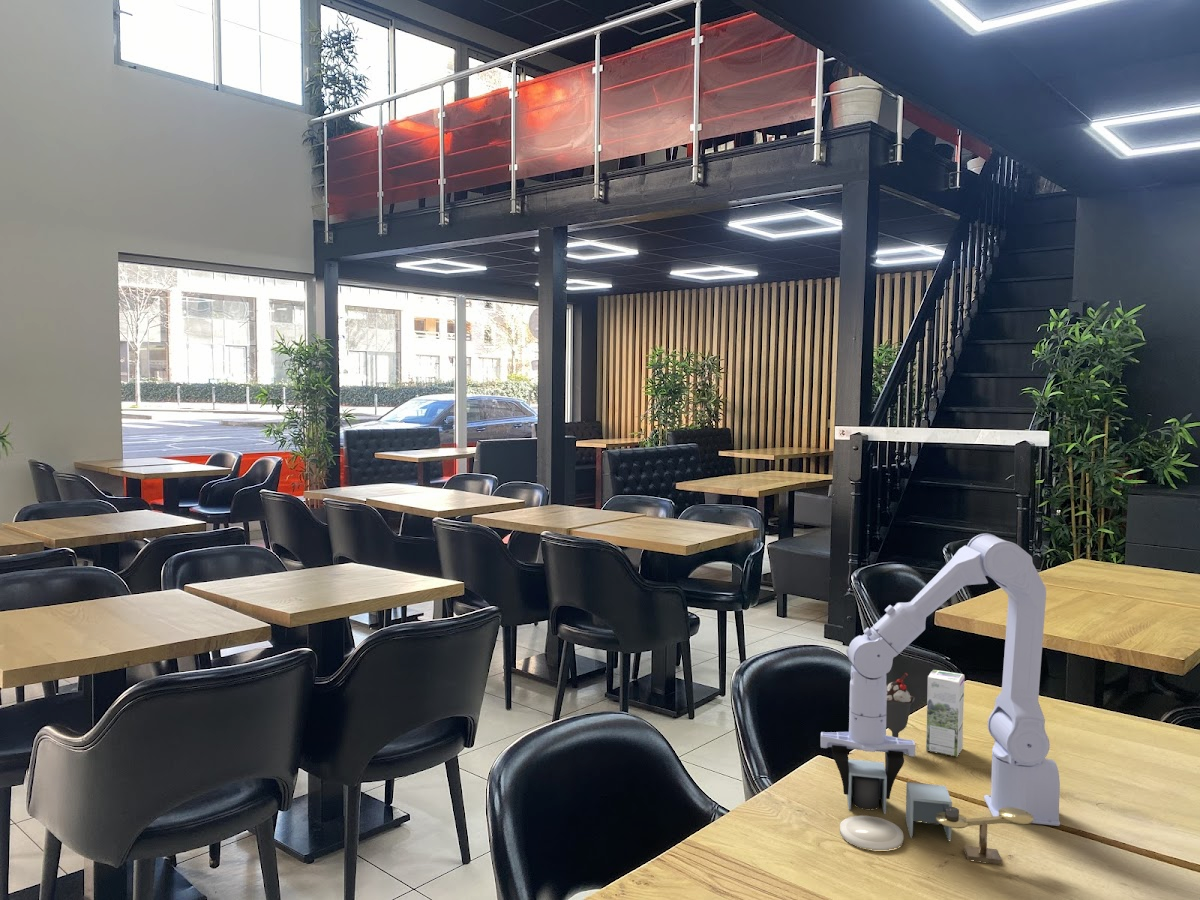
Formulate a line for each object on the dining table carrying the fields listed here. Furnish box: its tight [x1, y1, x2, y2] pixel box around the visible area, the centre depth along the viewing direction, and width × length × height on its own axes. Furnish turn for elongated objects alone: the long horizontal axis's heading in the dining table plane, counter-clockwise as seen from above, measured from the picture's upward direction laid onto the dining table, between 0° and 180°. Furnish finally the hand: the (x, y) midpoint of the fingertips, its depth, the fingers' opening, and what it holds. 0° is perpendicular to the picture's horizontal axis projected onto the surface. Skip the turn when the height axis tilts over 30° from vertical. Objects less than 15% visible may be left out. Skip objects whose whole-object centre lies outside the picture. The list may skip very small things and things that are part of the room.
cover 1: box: [846, 758, 887, 815], centre depth 138 cm, size 6×6×6 cm
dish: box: [839, 815, 904, 850], centre depth 127 cm, size 9×9×1 cm
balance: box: [936, 806, 1033, 866], centre depth 121 cm, size 13×4×7 cm, turn 77°
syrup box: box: [925, 669, 965, 757], centre depth 160 cm, size 6×6×14 cm
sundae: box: [886, 672, 916, 738], centre depth 161 cm, size 7×7×15 cm
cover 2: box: [905, 781, 953, 842], centre depth 129 cm, size 6×6×6 cm
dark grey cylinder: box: [852, 776, 880, 811], centre depth 138 cm, size 4×4×4 cm
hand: (866, 794), depth 138 cm, fingers closed on cover 1, 6 cm apart
